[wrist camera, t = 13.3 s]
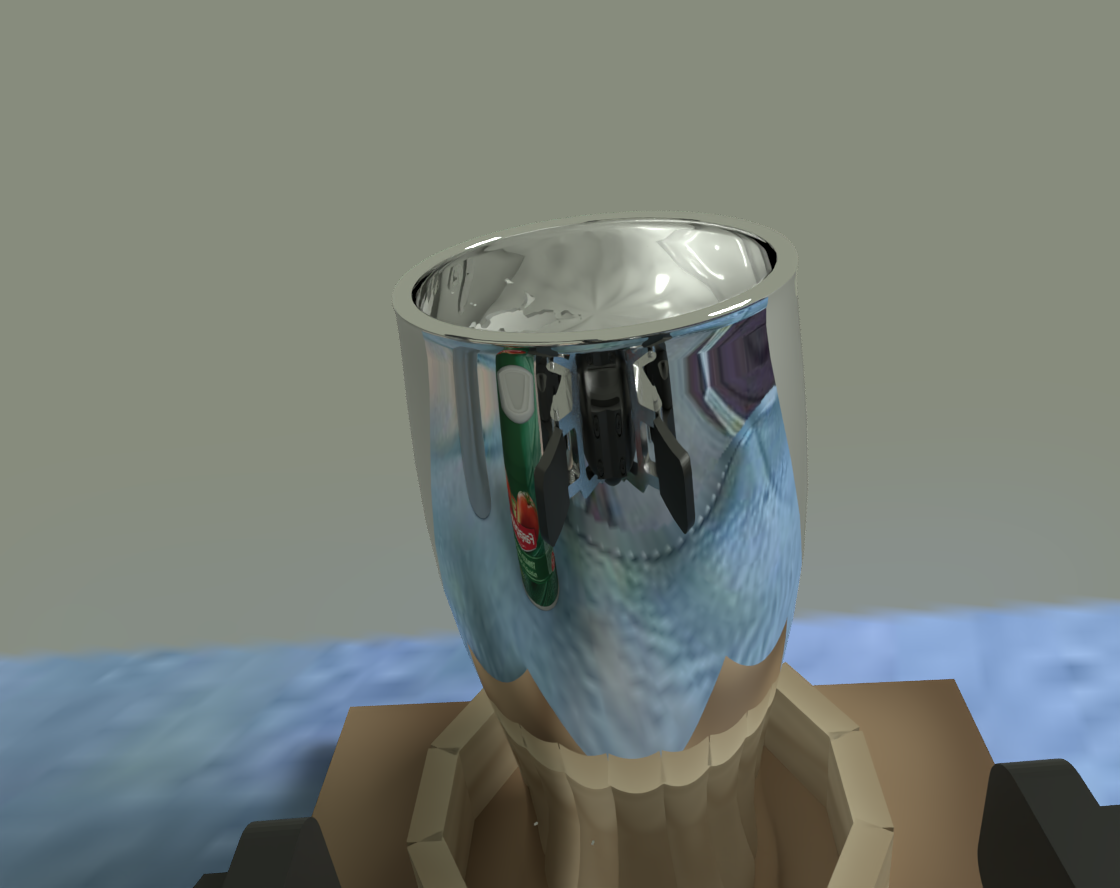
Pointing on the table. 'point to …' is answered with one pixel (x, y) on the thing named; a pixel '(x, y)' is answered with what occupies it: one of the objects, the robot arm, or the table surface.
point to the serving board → (787, 779)
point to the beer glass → (619, 524)
